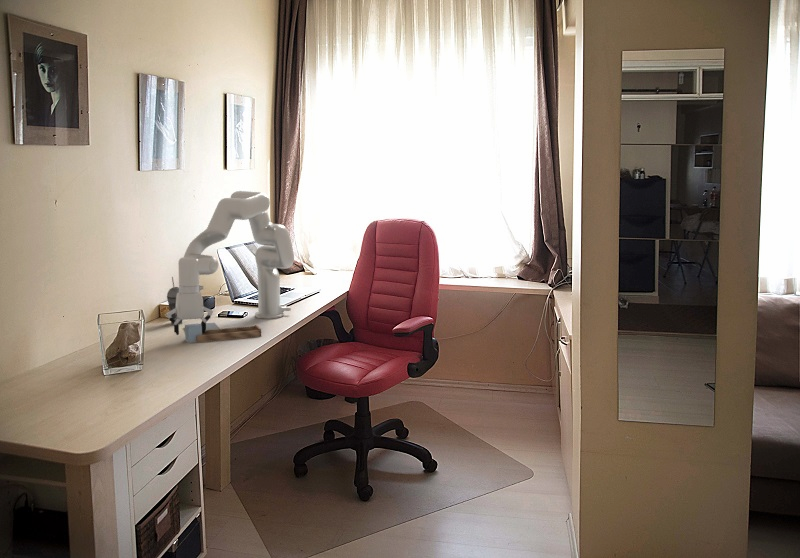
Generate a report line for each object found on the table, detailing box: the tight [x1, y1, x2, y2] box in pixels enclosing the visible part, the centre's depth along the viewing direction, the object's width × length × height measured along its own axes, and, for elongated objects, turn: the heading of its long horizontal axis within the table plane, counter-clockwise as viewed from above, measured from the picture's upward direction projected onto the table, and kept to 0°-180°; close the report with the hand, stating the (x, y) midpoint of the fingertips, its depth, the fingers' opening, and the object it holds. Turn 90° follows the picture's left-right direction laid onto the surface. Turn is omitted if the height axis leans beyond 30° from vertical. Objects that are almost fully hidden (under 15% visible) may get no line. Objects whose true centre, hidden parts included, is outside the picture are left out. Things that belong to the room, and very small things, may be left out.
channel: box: [196, 324, 262, 343], centre depth 284 cm, size 25×8×3 cm, turn 115°
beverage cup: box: [166, 276, 183, 326], centre depth 303 cm, size 7×7×20 cm
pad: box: [198, 322, 221, 330], centre depth 295 cm, size 12×12×1 cm
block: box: [184, 322, 202, 344], centre depth 278 cm, size 5×5×6 cm
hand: (190, 333), depth 278 cm, fingers open, 9 cm apart
